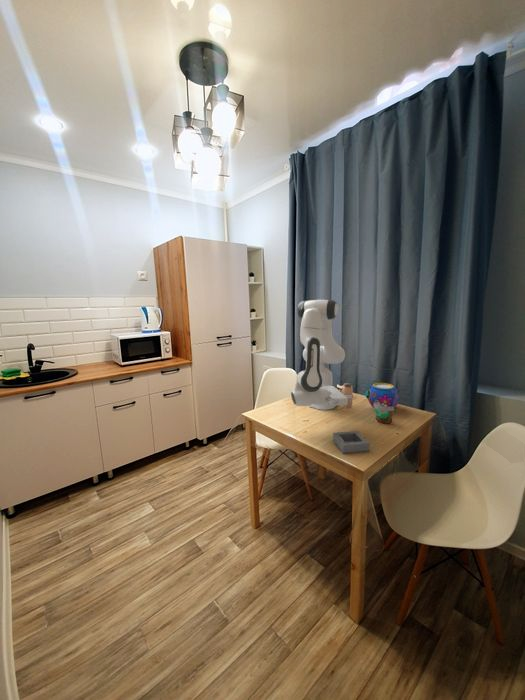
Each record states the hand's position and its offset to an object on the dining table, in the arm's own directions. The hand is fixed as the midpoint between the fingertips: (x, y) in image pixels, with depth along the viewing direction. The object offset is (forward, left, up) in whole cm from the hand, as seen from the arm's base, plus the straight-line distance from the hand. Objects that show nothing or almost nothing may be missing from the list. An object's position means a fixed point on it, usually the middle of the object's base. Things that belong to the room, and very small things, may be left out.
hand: (349, 394), depth 142 cm
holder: (+18, -7, -18) cm, 27 cm away
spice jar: (0, -1, -7) cm, 7 cm away
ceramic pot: (-20, +30, -19) cm, 40 cm away
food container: (-4, +20, -19) cm, 28 cm away
